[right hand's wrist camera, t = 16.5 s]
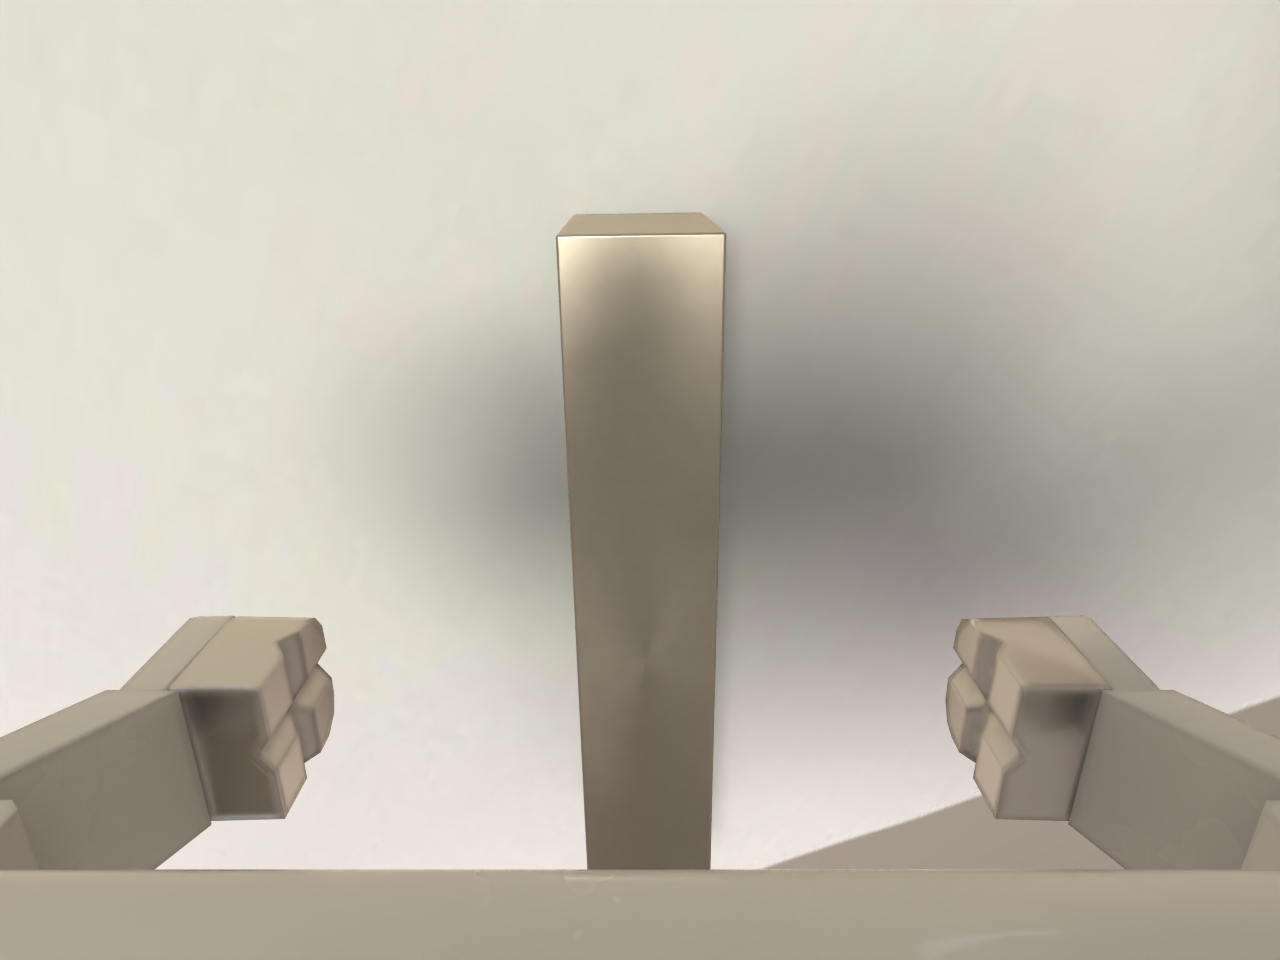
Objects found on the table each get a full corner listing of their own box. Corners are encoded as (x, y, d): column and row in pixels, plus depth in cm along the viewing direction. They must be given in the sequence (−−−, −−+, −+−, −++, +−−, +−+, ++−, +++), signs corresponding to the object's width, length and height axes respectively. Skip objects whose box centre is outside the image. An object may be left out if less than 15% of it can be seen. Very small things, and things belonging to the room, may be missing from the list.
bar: (573, 214, 30) (555, 234, 23) (702, 212, 30) (726, 232, 23) (598, 806, 40) (591, 953, 33) (693, 804, 41) (708, 951, 33)
